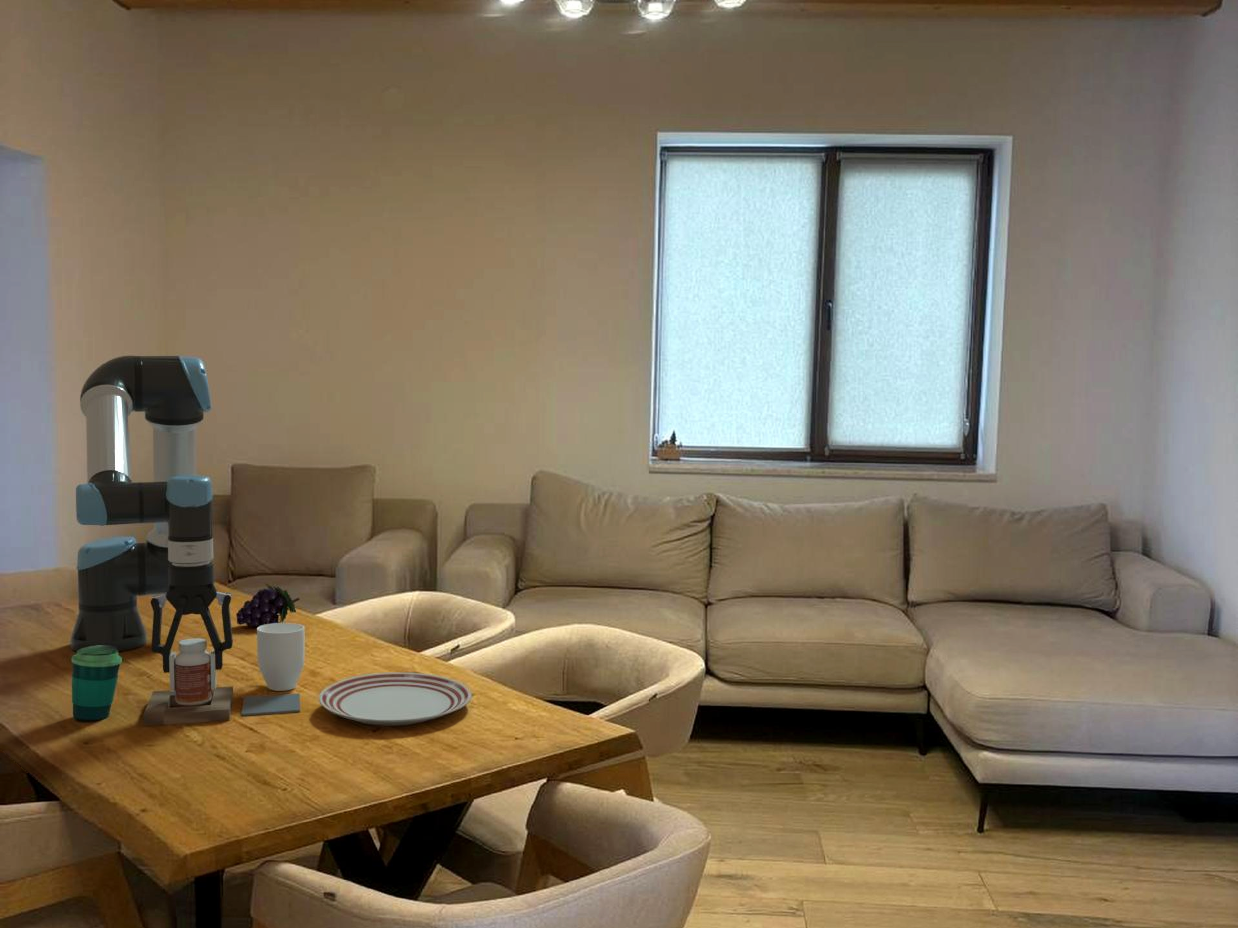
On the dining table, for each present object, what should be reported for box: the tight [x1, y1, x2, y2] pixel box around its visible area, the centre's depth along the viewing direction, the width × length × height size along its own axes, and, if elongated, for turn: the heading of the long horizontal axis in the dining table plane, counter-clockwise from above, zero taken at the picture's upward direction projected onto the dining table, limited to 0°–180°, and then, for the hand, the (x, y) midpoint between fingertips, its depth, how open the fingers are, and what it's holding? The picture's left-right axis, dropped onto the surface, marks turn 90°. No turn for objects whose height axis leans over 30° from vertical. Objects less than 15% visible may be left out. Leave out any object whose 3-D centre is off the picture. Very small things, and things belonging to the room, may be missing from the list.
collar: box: [142, 685, 234, 727], centre depth 200 cm, size 14×14×2 cm
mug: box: [256, 622, 306, 692], centre depth 215 cm, size 12×9×12 cm
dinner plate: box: [318, 671, 472, 727], centre depth 203 cm, size 27×27×3 cm
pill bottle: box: [175, 638, 212, 707], centre depth 199 cm, size 6×6×11 cm
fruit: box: [235, 583, 301, 628], centre depth 262 cm, size 10×11×15 cm
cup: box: [71, 645, 123, 723], centre depth 196 cm, size 8×8×12 cm
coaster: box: [241, 693, 301, 717], centre depth 204 cm, size 10×10×1 cm
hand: (193, 687), depth 200 cm, fingers closed on pill bottle, 6 cm apart
